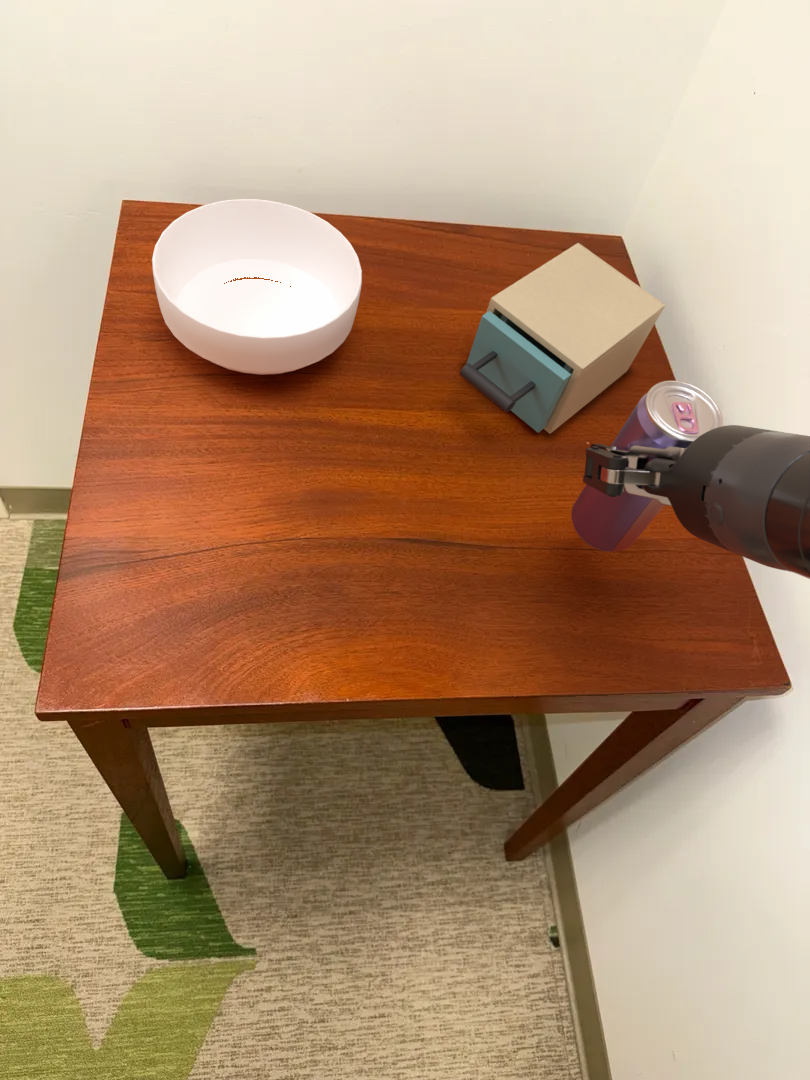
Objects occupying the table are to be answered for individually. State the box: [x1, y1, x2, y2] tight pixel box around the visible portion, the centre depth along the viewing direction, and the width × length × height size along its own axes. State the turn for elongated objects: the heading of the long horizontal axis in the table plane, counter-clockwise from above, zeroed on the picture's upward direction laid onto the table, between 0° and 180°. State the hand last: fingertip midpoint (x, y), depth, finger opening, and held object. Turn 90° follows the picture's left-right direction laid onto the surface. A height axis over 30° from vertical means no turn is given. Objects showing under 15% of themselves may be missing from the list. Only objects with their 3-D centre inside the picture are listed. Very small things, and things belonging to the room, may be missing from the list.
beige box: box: [485, 242, 666, 434], centre depth 80 cm, size 15×12×10 cm
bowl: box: [151, 198, 363, 376], centre depth 76 cm, size 20×20×8 cm
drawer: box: [459, 311, 574, 434], centre depth 78 cm, size 18×10×8 cm, turn 136°
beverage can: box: [570, 380, 724, 553], centre depth 59 cm, size 6×6×15 cm
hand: (632, 458), depth 60 cm, fingers closed on beverage can, 6 cm apart
